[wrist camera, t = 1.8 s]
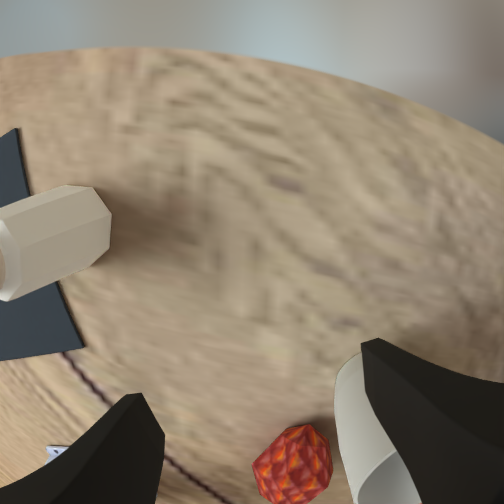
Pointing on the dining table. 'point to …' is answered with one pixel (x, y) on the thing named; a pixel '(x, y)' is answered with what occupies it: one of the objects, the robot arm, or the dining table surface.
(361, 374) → the cup
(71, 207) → the salt shaker
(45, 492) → the robot arm
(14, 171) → the mat
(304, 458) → the decorative stone
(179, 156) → the dining table surface
